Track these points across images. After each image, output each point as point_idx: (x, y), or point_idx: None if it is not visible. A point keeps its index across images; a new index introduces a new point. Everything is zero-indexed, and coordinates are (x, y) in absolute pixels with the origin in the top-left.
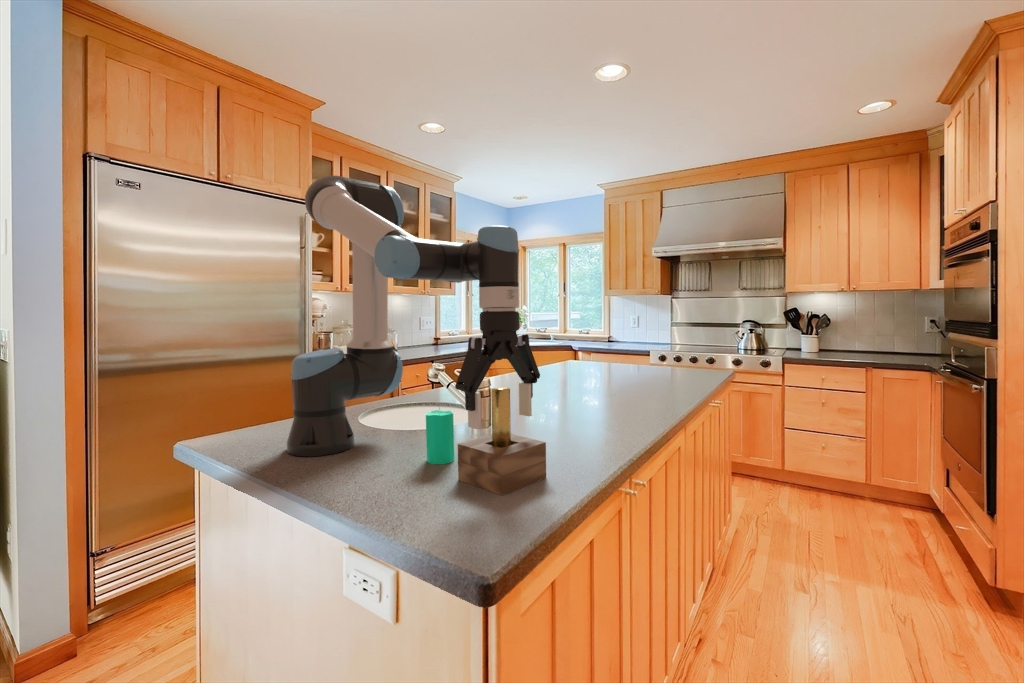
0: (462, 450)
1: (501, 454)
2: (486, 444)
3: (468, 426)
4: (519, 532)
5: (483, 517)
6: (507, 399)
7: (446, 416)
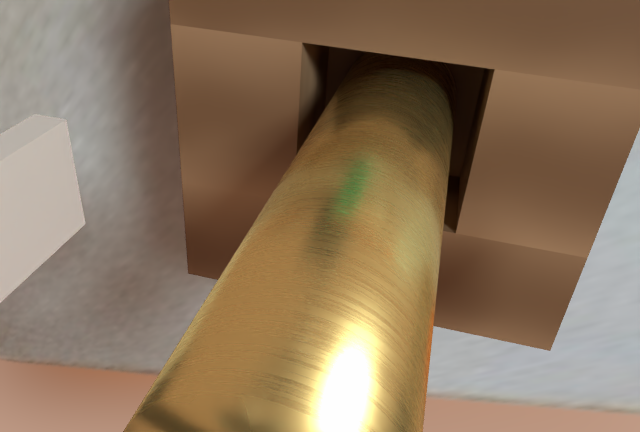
0: None
1: (208, 259)
2: (291, 76)
3: (34, 116)
4: (119, 333)
5: (99, 222)
6: None
7: None
